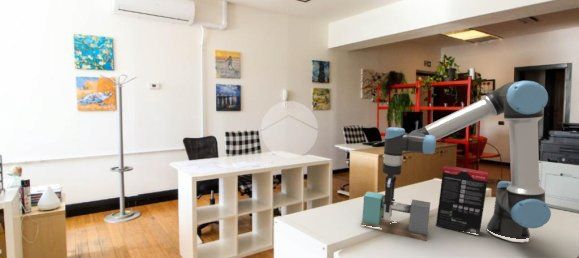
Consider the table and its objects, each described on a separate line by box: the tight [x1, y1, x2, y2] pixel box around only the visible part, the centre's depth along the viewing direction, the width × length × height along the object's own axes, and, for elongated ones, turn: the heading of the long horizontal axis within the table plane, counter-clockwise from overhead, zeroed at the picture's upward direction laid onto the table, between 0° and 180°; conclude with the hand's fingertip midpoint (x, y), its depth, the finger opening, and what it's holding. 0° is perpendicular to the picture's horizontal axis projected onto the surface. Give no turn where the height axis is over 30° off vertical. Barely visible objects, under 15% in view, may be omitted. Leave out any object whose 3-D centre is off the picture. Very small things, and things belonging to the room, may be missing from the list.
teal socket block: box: [361, 191, 384, 225], centre depth 139 cm, size 7×7×12 cm
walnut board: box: [360, 218, 428, 242], centre depth 136 cm, size 26×10×2 cm, turn 65°
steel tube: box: [381, 200, 411, 214], centre depth 135 cm, size 17×4×4 cm, turn 65°
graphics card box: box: [435, 164, 489, 235], centre depth 138 cm, size 17×7×27 cm, turn 59°
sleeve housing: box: [408, 198, 431, 237], centre depth 131 cm, size 7×7×12 cm
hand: (387, 217), depth 137 cm, fingers closed on steel tube, 3 cm apart
